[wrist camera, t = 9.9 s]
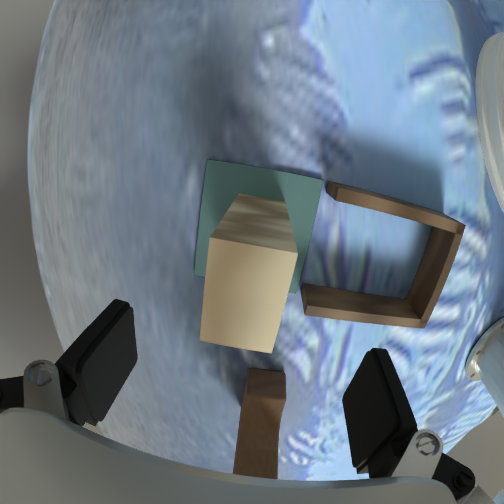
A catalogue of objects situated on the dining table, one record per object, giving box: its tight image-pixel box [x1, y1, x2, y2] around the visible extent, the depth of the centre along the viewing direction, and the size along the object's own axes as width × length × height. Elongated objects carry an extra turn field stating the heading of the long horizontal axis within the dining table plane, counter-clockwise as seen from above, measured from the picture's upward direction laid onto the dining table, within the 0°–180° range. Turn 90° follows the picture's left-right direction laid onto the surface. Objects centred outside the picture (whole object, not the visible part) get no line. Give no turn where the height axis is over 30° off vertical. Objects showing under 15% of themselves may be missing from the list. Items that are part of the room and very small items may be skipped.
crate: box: [301, 181, 466, 328], centre depth 23 cm, size 13×11×4 cm
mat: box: [194, 160, 323, 293], centre depth 25 cm, size 10×11×1 cm
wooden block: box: [233, 368, 286, 479], centre depth 24 cm, size 9×4×18 cm, turn 173°
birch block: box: [200, 193, 298, 353], centre depth 19 cm, size 4×6×12 cm, turn 171°
